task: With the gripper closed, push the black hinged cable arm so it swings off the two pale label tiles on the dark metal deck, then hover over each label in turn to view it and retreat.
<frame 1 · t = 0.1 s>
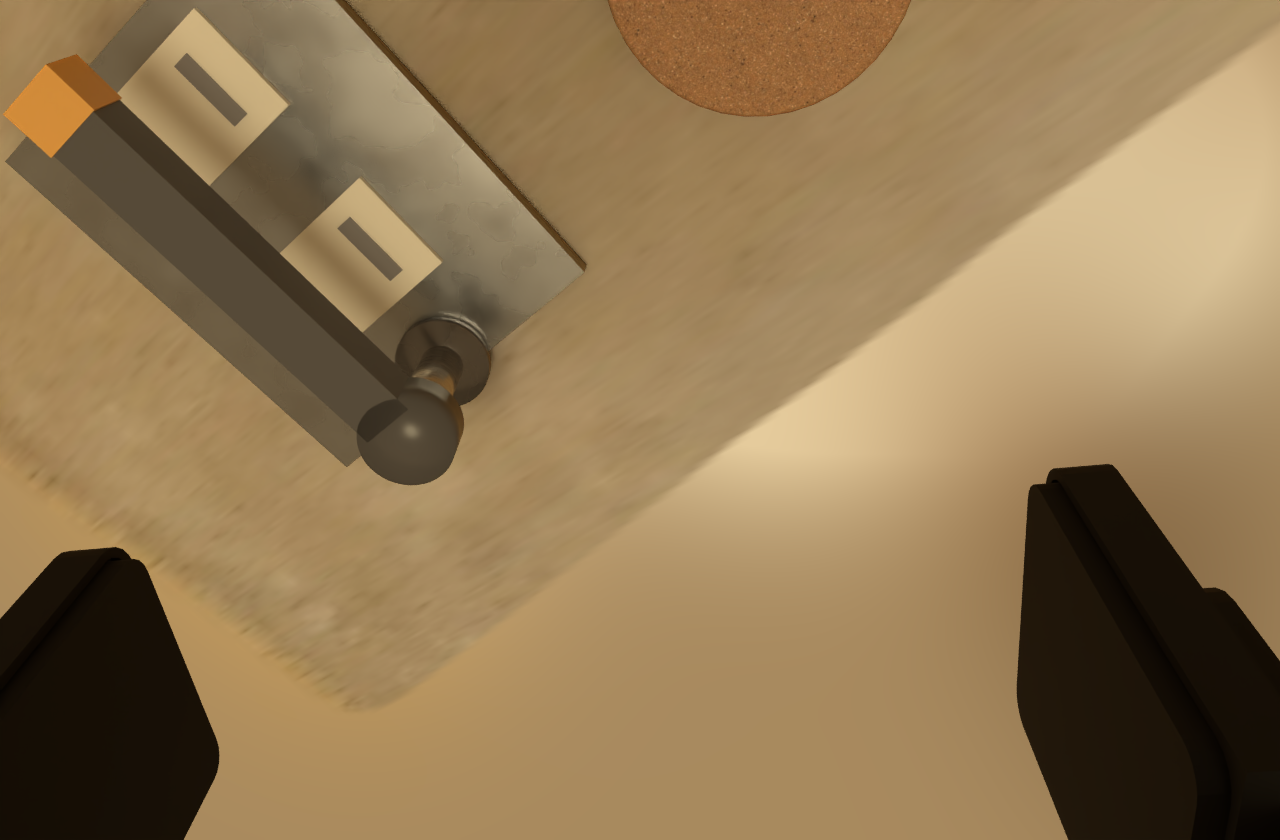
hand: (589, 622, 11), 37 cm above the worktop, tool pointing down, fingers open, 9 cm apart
label b: (349, 267, 48), resting on deck
cable arm: (260, 289, 41), point 8 cm above the worktop, hinge at 0.0°
label a: (192, 112, 45), resting on deck
deck: (306, 211, 48), on the worktop
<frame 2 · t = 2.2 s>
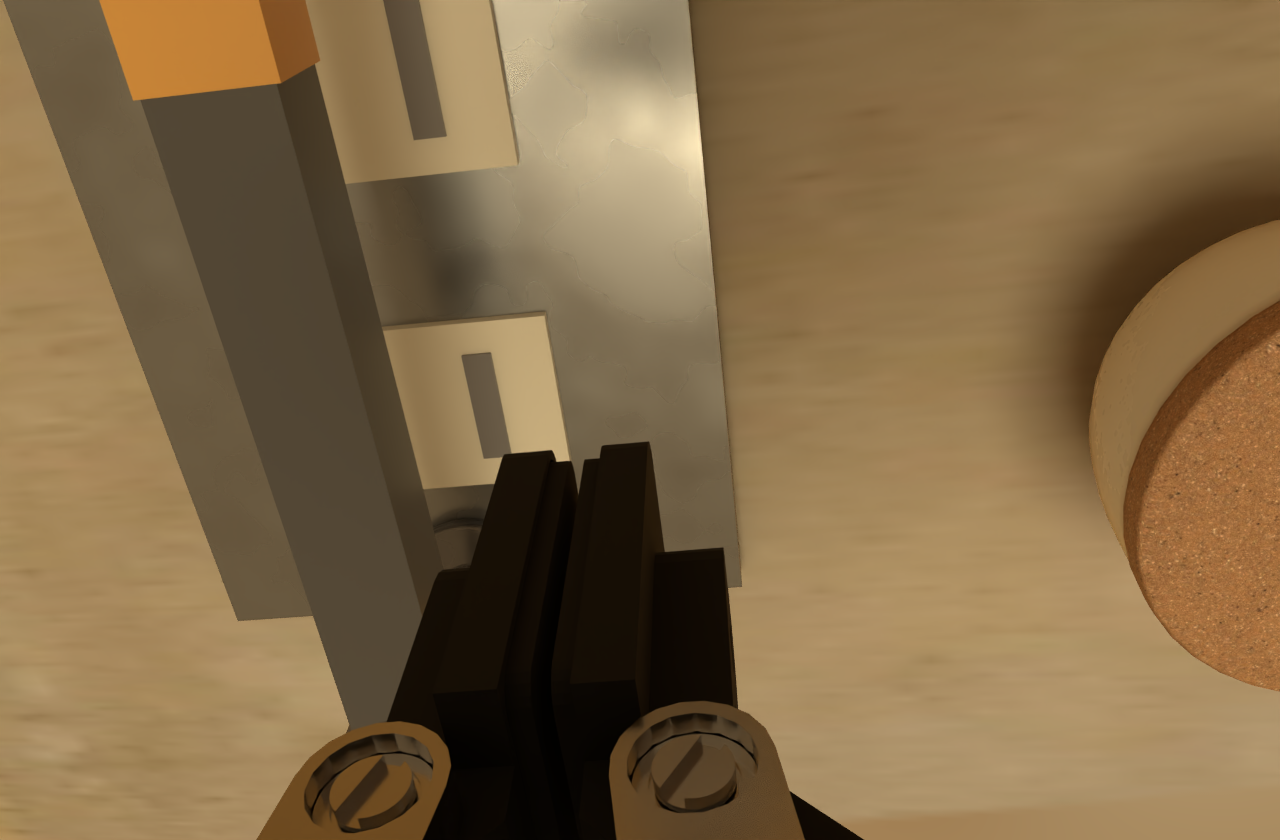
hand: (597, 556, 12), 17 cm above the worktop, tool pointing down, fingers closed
label b: (436, 405, 30), resting on deck
cable arm: (345, 471, 22), point 8 cm above the worktop, hinge at 0.0°
lidded jar: (1235, 348, 29), on the worktop
label a: (358, 74, 25), resting on deck
deck: (421, 292, 29), on the worktop
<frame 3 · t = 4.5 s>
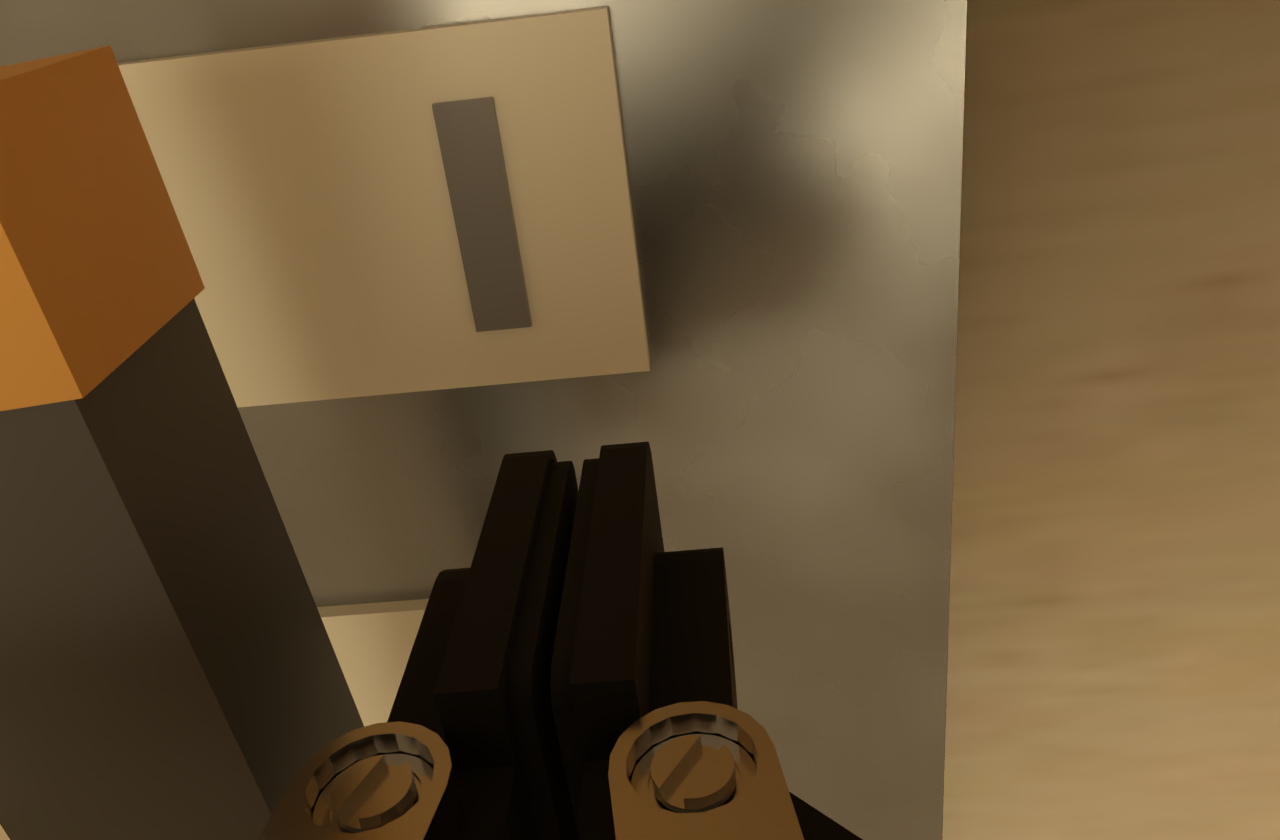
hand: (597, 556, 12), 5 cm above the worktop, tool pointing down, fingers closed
label b: (494, 707, 19), resting on deck
label a: (383, 223, 15), resting on deck
deck: (473, 537, 18), on the worktop
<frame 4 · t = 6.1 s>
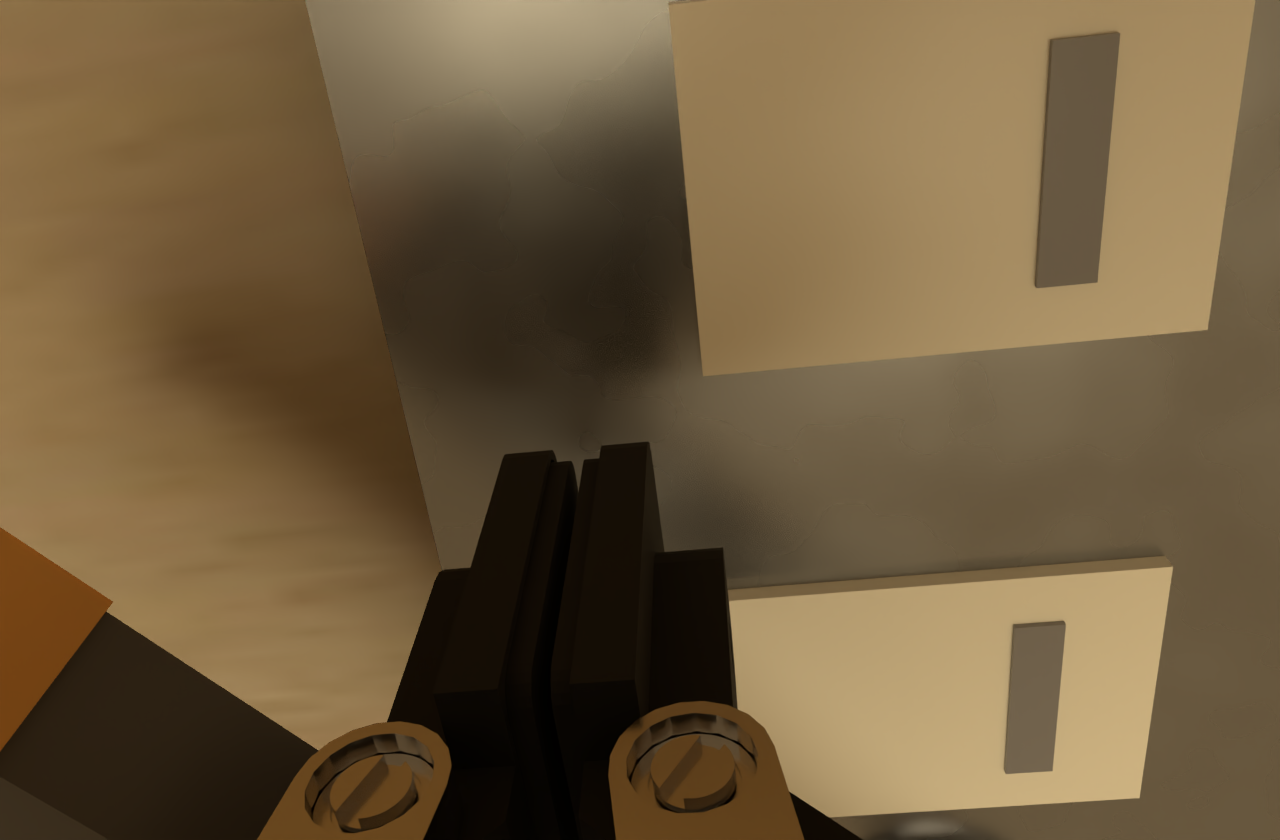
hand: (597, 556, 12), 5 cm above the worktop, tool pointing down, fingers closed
label b: (937, 692, 18), resting on deck
label a: (950, 172, 14), resting on deck
deck: (927, 513, 18), on the worktop
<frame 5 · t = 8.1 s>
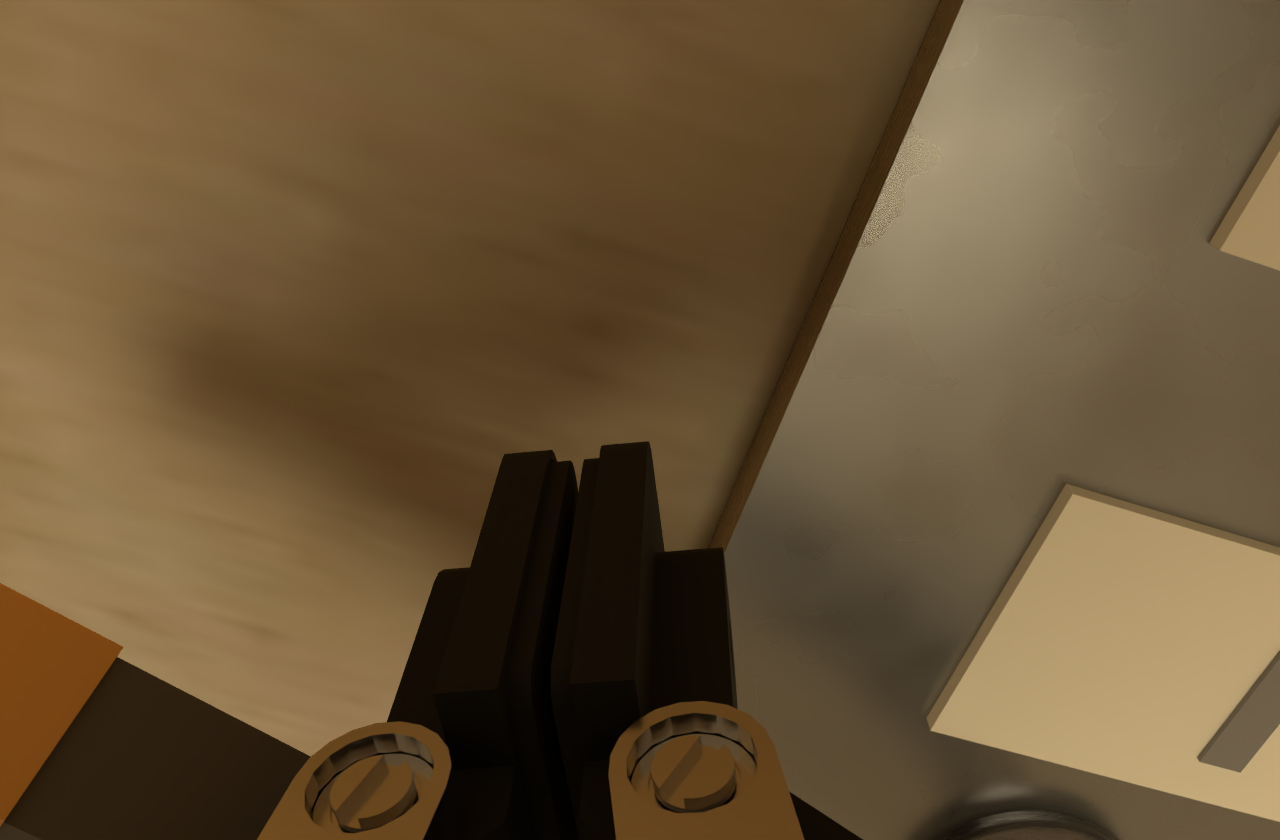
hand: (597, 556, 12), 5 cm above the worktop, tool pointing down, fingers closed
label b: (1182, 661, 18), resting on deck
deck: (1253, 484, 17), on the worktop
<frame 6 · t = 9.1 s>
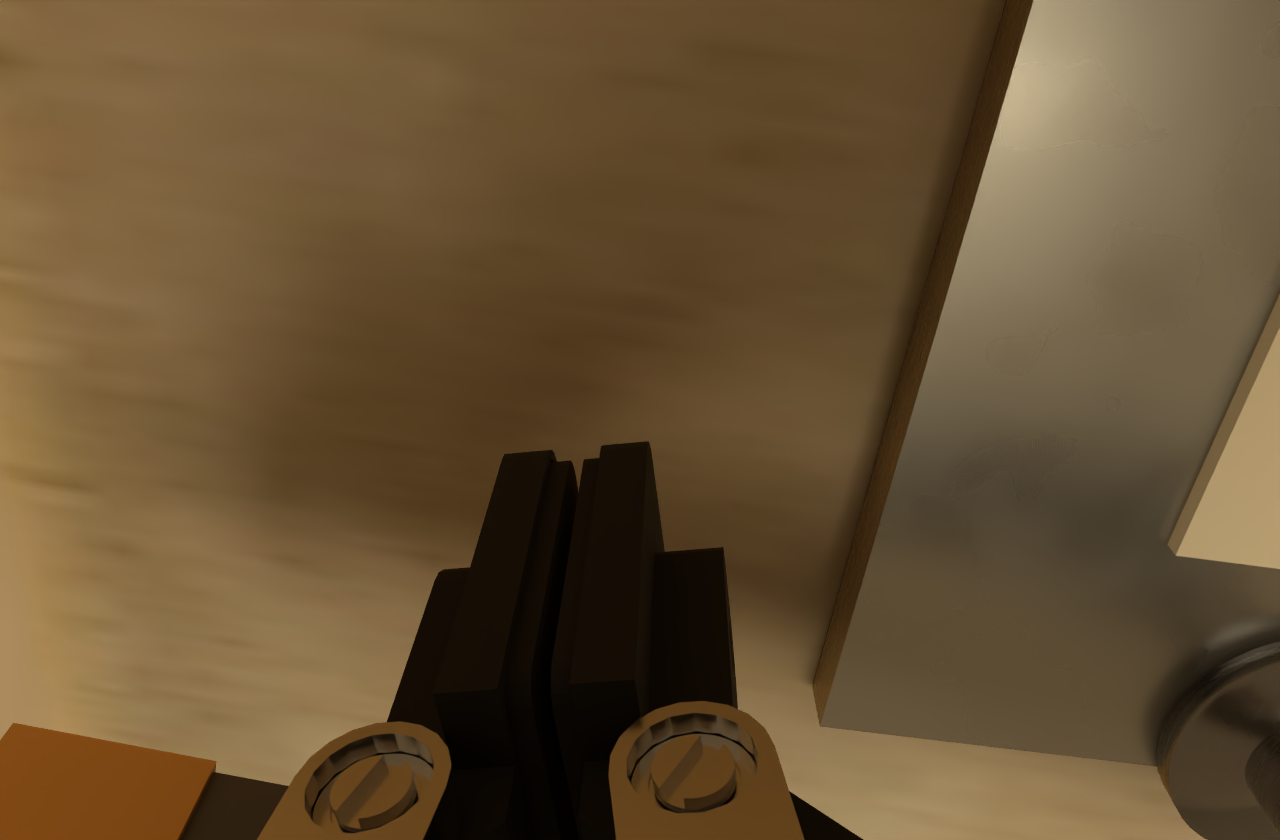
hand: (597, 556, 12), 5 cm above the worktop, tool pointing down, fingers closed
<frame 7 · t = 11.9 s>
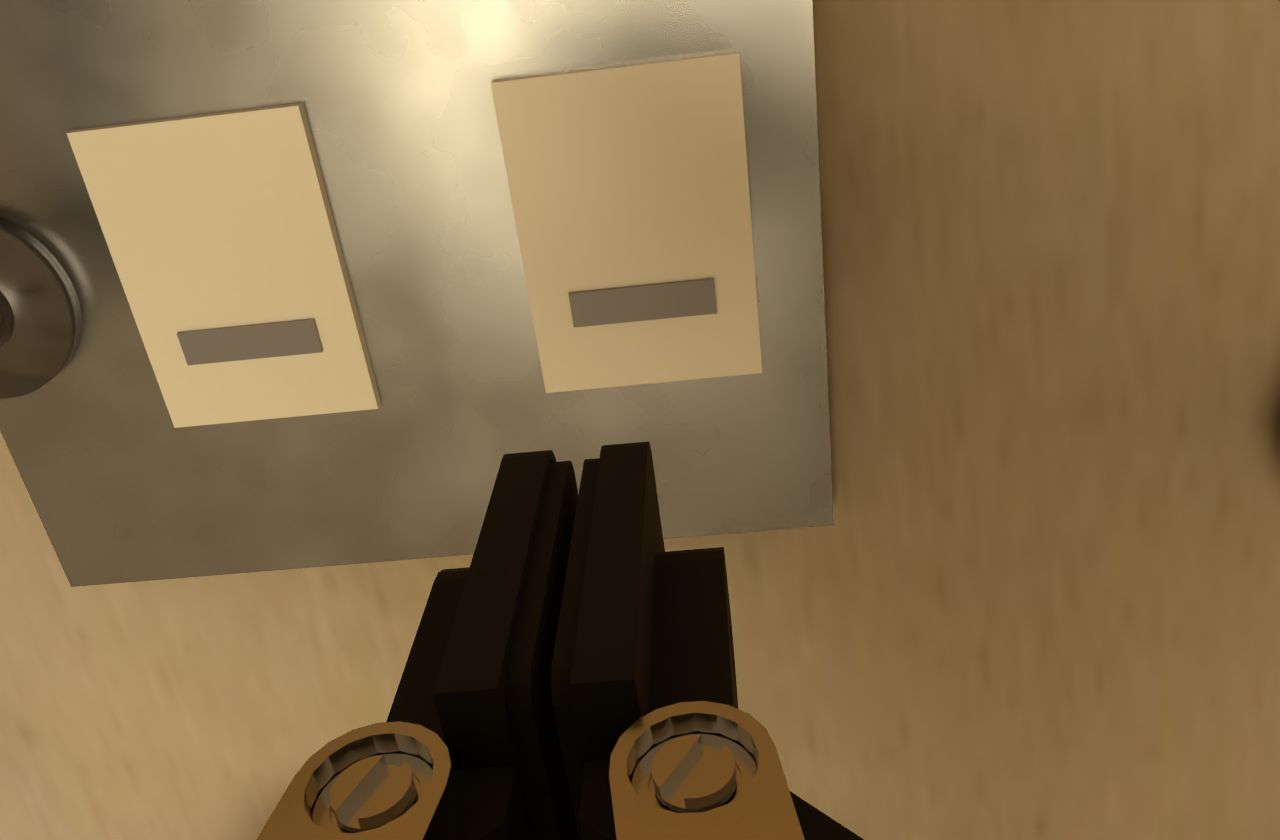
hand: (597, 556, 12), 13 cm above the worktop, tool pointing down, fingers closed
label b: (236, 274, 24), resting on deck
label a: (635, 232, 23), resting on deck
deck: (377, 246, 24), on the worktop
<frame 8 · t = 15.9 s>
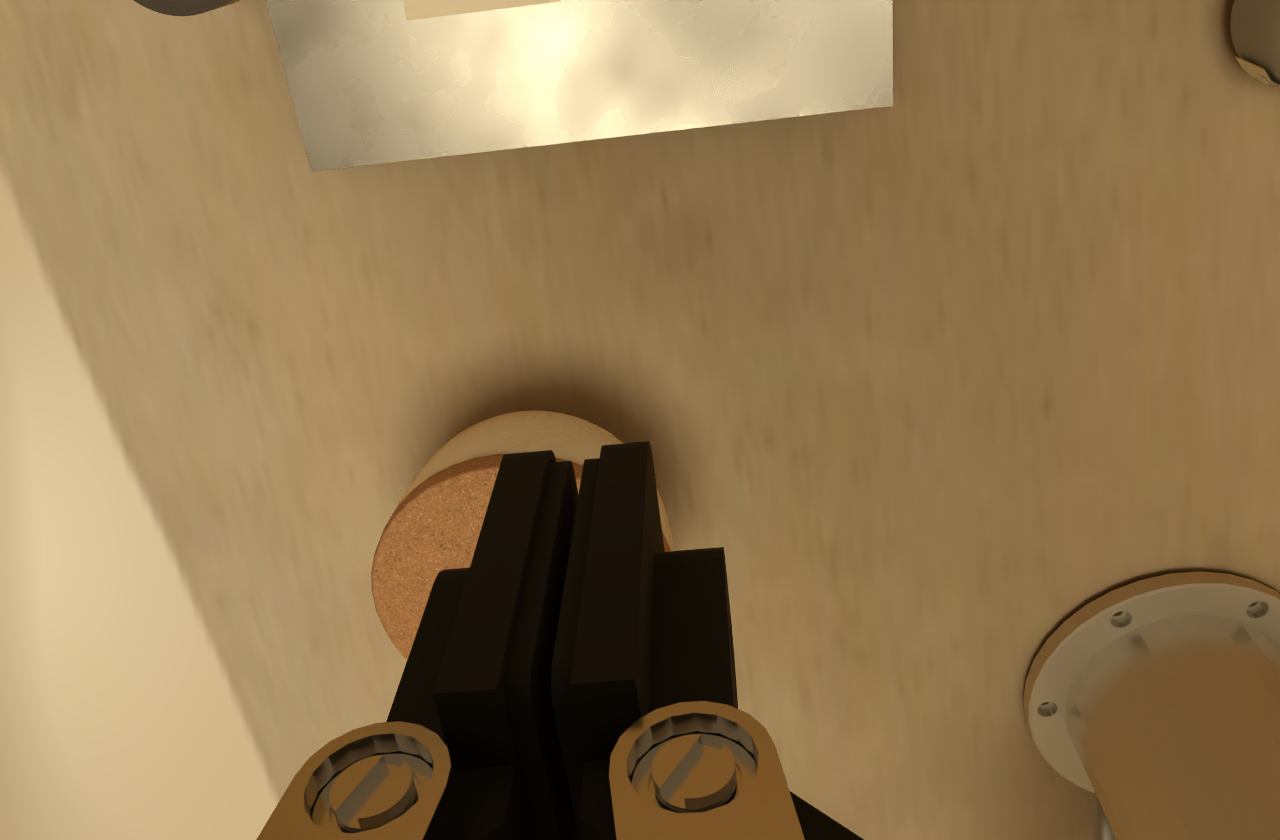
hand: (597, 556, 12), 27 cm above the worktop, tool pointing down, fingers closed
lidded jar: (548, 481, 44), on the worktop
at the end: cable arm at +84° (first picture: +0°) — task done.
